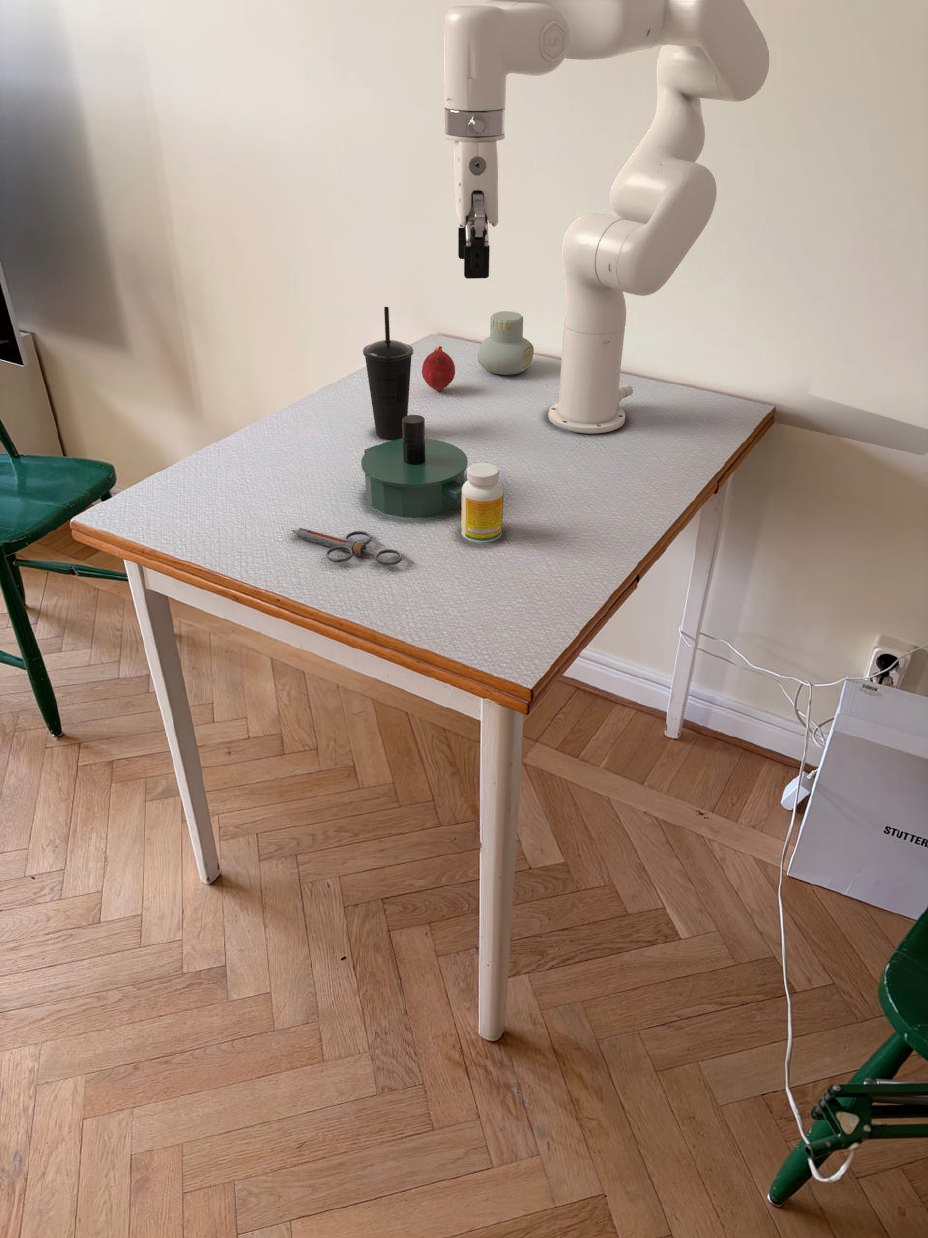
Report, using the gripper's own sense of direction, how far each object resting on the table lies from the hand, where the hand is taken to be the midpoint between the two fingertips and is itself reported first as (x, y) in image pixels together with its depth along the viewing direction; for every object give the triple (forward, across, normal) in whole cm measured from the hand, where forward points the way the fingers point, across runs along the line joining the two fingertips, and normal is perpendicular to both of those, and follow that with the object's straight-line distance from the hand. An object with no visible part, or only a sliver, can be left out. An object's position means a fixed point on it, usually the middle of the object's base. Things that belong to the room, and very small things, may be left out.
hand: (473, 267), depth 126 cm
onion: (+28, +29, +3) cm, 41 cm away
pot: (+28, -11, +9) cm, 32 cm away
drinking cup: (+28, +11, +12) cm, 33 cm away
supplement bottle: (+28, -23, +1) cm, 36 cm away
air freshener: (+28, +38, -10) cm, 49 cm away
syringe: (+28, -25, +19) cm, 42 cm away
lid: (+23, -11, +9) cm, 27 cm away
